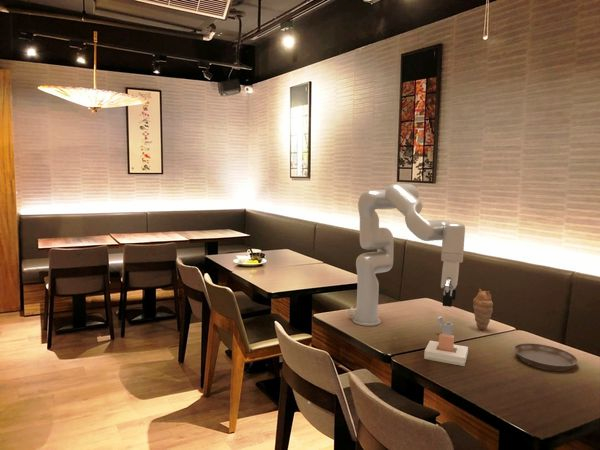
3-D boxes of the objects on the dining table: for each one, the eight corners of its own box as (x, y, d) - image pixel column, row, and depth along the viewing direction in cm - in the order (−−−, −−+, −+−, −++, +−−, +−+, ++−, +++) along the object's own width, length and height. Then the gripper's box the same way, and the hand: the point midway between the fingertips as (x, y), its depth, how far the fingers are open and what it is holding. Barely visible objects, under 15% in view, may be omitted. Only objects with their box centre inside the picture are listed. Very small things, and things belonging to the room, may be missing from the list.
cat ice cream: (467, 328, 206) (470, 288, 204) (480, 325, 210) (483, 286, 208) (483, 334, 198) (486, 293, 196) (496, 332, 202) (499, 291, 200)
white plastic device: (450, 333, 199) (451, 315, 198) (452, 334, 197) (454, 316, 196) (435, 334, 197) (436, 315, 196) (437, 335, 195) (438, 317, 195)
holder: (424, 358, 170) (424, 350, 170) (429, 347, 181) (430, 340, 181) (464, 366, 165) (465, 358, 164) (467, 354, 175) (468, 346, 175)
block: (437, 354, 173) (439, 335, 172) (439, 351, 175) (440, 333, 175) (452, 356, 171) (453, 338, 170) (453, 353, 173) (454, 335, 172)
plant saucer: (576, 359, 175) (577, 350, 174) (577, 379, 157) (578, 369, 157) (516, 347, 185) (517, 339, 185) (510, 365, 167) (511, 356, 167)
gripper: (444, 252, 178) (441, 296, 180) (437, 259, 163) (434, 307, 165) (465, 254, 175) (462, 298, 177) (460, 261, 160) (456, 310, 162)
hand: (448, 302), depth 171 cm, fingers open, 9 cm apart
